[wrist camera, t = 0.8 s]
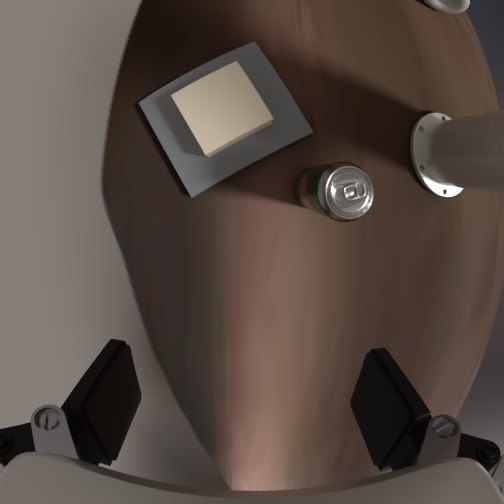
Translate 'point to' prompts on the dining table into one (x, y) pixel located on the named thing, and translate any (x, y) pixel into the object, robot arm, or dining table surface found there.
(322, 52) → the dining table surface
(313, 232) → the dining table surface
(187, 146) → the build base
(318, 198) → the soda can
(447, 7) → the donut
